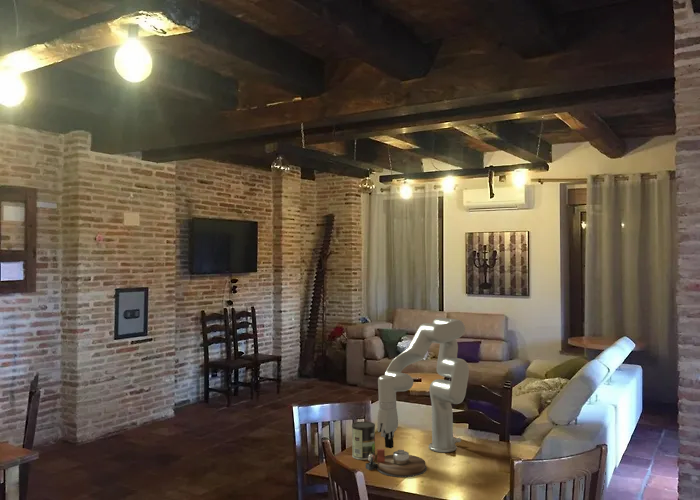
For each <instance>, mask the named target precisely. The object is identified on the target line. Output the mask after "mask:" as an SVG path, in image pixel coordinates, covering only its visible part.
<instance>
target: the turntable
mask: <svg viewBox="0 0 700 500" xmlns="http://www.w3.org/2000/svg"><path fill="white" fill-rule="evenodd" d="M376 451H377V456H376V457H377V462H376V463H377V464H378V469H379V470H380V471H382V472H384V473H387V474H391V475H401V476H406V475H415V474H418V473H421V472H423V471H424V470H425V465H426V460H424V459H423V458H422V457H420V456H418V455H412V454H409V464H407V465H402V466H401V465H395V464H394V463H393V454H387V455H385V452H386V451H385V449H384V448H383V449H382V448H381V449H380V448H378V449H377V450H376Z"/></svg>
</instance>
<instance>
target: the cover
mask: <svg viewBox="0 0 700 500" xmlns="http://www.w3.org/2000/svg"><path fill="white" fill-rule="evenodd" d="M409 453H410V452H408V451H406V450H404V449H398V450H396V451H393V454H392V455H393V463H394V464H395V465H401V466H402V465H407V464H409V455H410V454H409Z"/></svg>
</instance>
